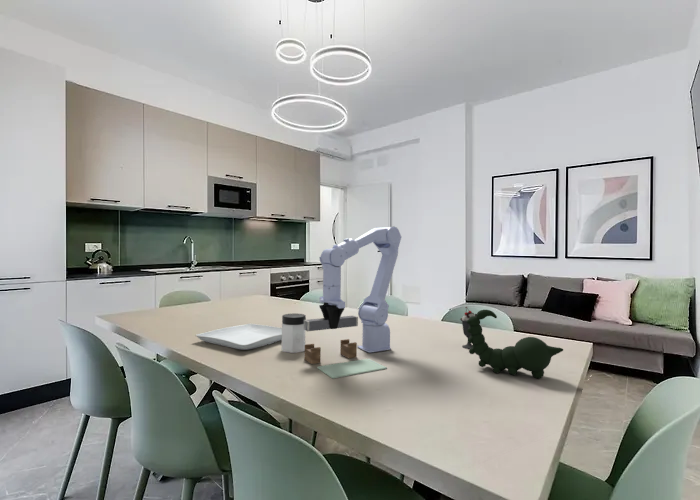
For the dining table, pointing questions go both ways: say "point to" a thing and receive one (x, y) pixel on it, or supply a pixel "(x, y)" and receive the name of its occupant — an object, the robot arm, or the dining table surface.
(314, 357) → the post
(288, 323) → the jar
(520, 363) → the toy figurine
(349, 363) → the mat
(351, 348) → the post
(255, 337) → the square plate
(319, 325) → the rail
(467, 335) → the sundae
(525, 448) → the dining table surface
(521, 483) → the dining table surface
